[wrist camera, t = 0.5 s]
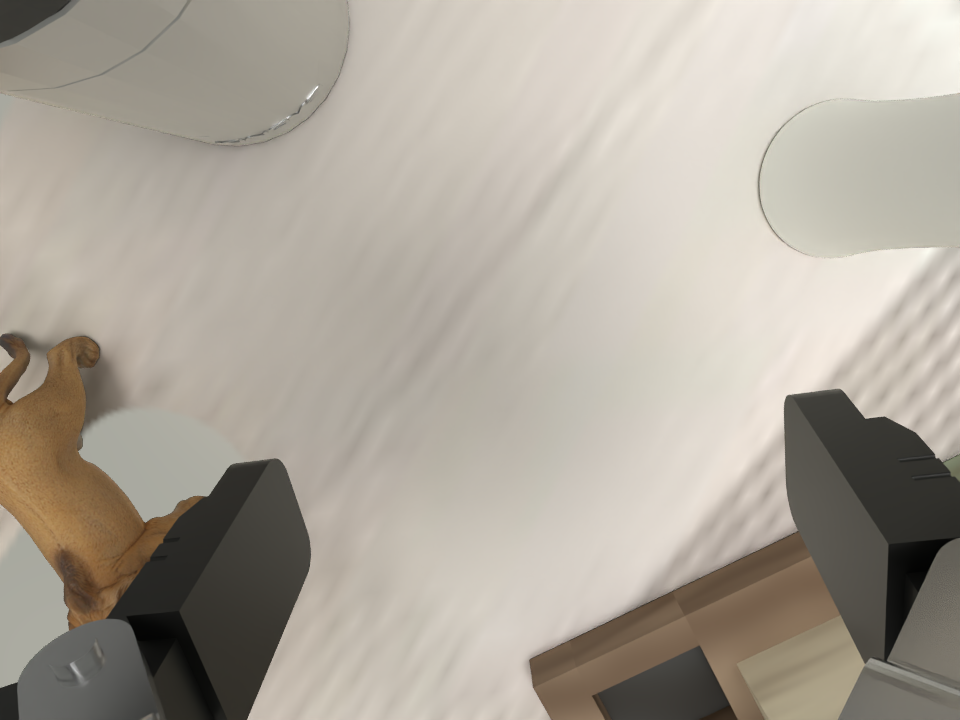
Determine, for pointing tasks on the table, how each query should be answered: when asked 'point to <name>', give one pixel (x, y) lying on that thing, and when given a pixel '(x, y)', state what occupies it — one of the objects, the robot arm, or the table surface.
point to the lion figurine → (70, 485)
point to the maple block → (805, 674)
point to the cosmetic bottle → (866, 176)
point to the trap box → (690, 642)
